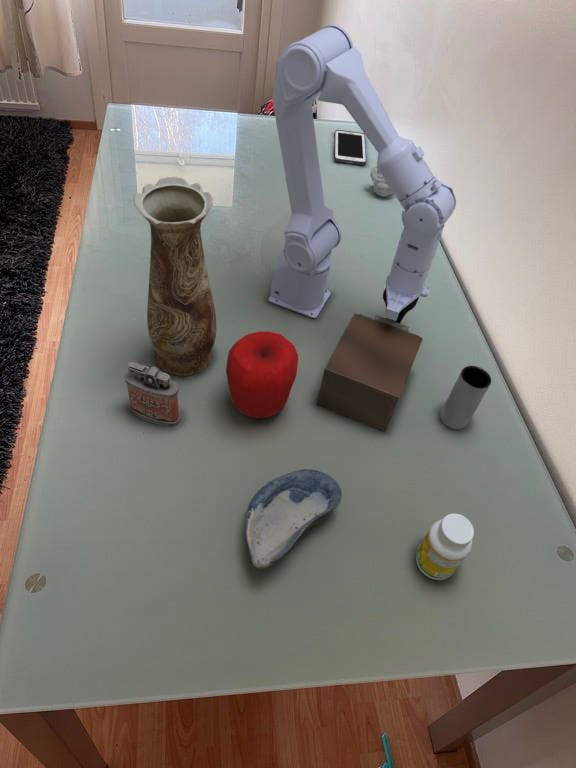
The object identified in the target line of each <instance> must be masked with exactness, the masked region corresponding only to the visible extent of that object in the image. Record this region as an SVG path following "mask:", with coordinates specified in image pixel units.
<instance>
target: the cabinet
mask: <svg viewBox="0 0 576 768" xmlns="http://www.w3.org/2000/svg"><path fill="white" fill-rule="evenodd" d="M361 315H362V314H361ZM361 315H359V314H358V313H356V312H355V313H353V315H352V317H351V319H350V321H349V323H348V324H347V326H346V328H345V330H344V331H343V333H342V336H341V337H340V339H339V341H338V343H337V345H336V347H335V348H334V350H333V352H332V354H331V355H330V358H329V359H328V362H327V363H326V365H325V367H324V368H323V369H324V370H323V374H322V379H321V383H320V387H319V390H318V396H317V399H316V400H317V401H316V405H318V406H320V407H323V408H325V409H327V410H330V411H331V412H334V413H337V414H340V415H342V416H344V417H347V418H350V419H352V420H355V421H357V422H360V423H362V424H365V425H367V426H370V427H372V428H374V429H377V430H380V431H382V432H384V433H386V432H387V429H388V428H389V425H390V422H391V419H392V417H393V415H394V412H395V411H396V410H395V409H396V407H397V406H398V402H399V400H400V398H401V395H402V392H403V389H404V387H405V385H406V382H407V380H408V377H409V375H410V372H411V369H412V367H413V364H414V363H415V359H416V357H417V354H418V352H419V350H420V347H421V345H422V343H423V337H421V336H420V337H418V336H419V335H418V336H415V335H416V334H415V335H413V334H414V333H413V334H410V333H411V332H410V333H407V332H405V331H402V330H399V329H396V328H394V327H391V326H388V325H385V324H383V323H380V322H377V321H375V320H372V319H373V318H372V319H369V318H370V317H369V318H366V317H367V316H366V317H364V316H365V315H363V316H361Z"/></svg>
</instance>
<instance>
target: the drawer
mask: <svg viewBox="0 0 576 768" xmlns="http://www.w3.org/2000/svg"><path fill="white" fill-rule="evenodd" d="M358 315H361V316H364V317H366V318H369V319H372V320H375V321H377V322H380V323H383V324H385V325H388V326H391V327H394V328H396V329H399V330H402V331H405V332H407V333H410V334H413V335H415V336H418V337H421V336H420V335H418V334H415V333H413V332H410V331H409V329H410V326H409V325H405V324H403V323H401V322H400V323H397V322H395V321H392V320H389V319H386V317H384V316H381V315H378V314H375V315H374V318H371V317H369V316H366V315H364V314H360V313H359V314H358Z"/></svg>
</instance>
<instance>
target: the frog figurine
mask: <svg viewBox="0 0 576 768" xmlns="http://www.w3.org/2000/svg"><path fill="white" fill-rule="evenodd" d="M369 176H370V178H371V181H372V182H373V185H372V186H373V190H374V192H375V193H376V195H378V196H379V197H388V196H391V195H392V194H394V193H393V191H392V190H391V188H390V187H389V185H388V183H387V182H386V180H385V179H384V177H383V176H382V174H381V172H380V171H379V169H378V168H377V166H374V167H371V169H370V174H369Z"/></svg>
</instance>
